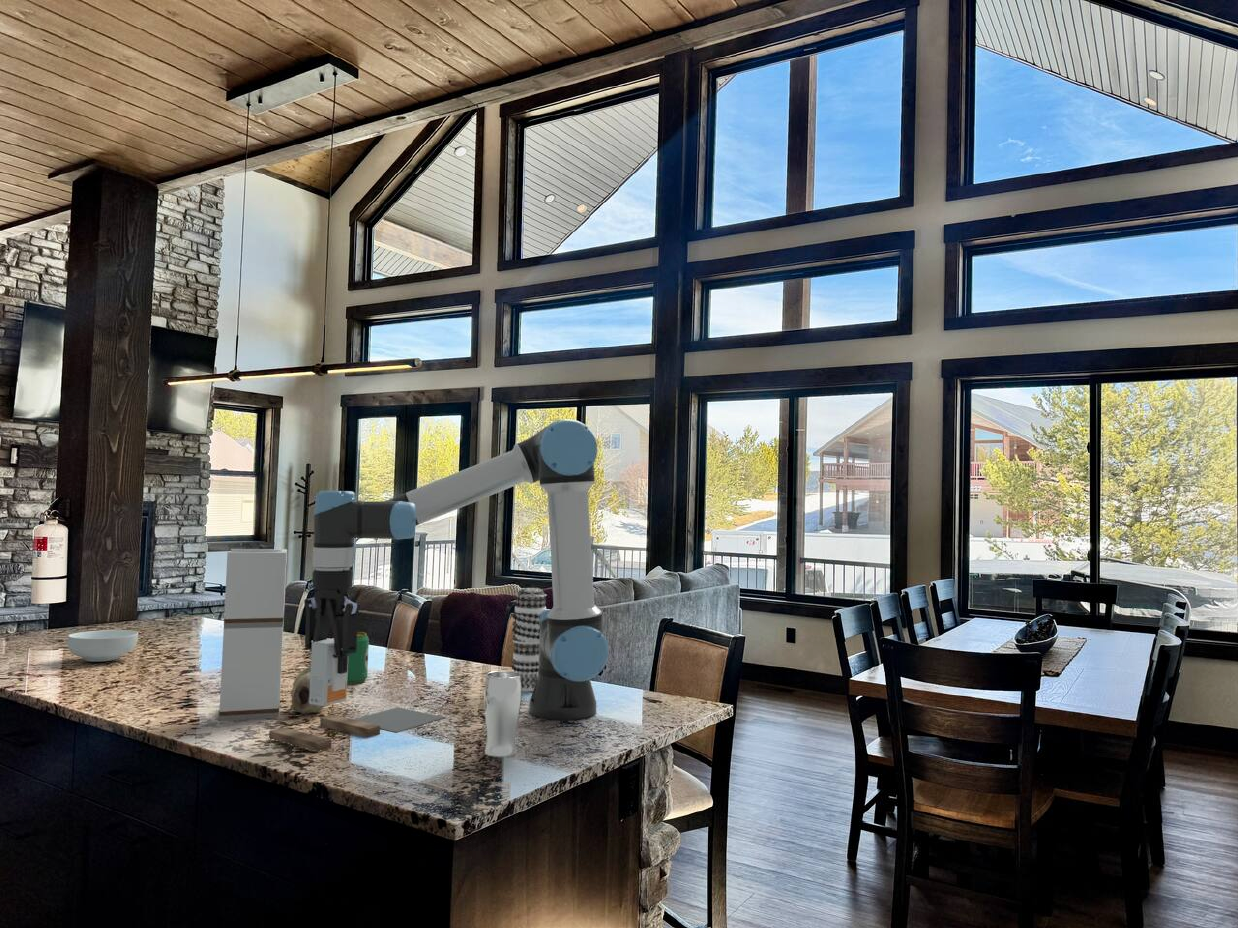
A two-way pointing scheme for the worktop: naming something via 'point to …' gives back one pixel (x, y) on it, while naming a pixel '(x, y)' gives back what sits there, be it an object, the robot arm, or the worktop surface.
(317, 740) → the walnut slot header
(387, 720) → the charcoal mat
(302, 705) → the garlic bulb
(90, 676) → the worktop surface
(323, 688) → the skincare box
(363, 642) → the beverage can
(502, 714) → the beer glass
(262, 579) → the white tall block
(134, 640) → the cereal bowl
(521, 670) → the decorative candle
